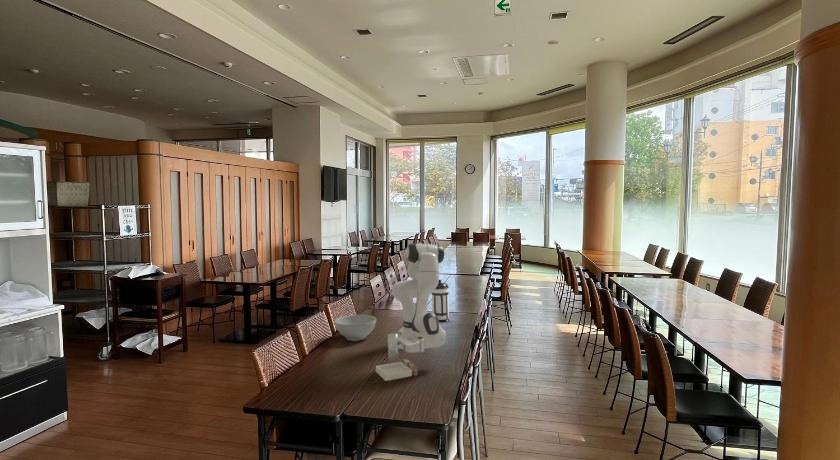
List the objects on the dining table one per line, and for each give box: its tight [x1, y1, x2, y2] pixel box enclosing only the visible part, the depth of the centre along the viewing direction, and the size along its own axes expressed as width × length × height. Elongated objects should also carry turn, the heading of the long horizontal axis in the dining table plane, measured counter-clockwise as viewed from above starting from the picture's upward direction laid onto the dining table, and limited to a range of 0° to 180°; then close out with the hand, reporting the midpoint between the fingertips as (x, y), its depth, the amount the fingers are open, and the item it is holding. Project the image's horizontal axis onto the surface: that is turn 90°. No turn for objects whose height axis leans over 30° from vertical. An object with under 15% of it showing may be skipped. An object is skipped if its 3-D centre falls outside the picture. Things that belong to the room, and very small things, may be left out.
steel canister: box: [387, 332, 399, 361], centre depth 232 cm, size 5×5×12 cm
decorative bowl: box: [334, 314, 377, 342], centre depth 298 cm, size 27×27×12 cm
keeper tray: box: [375, 361, 413, 382], centre depth 233 cm, size 14×14×3 cm
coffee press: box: [430, 279, 450, 322], centre depth 336 cm, size 17×16×30 cm
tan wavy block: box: [402, 358, 419, 376], centre depth 236 cm, size 14×2×4 cm, turn 25°
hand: (391, 345), depth 231 cm, fingers closed on steel canister, 5 cm apart
